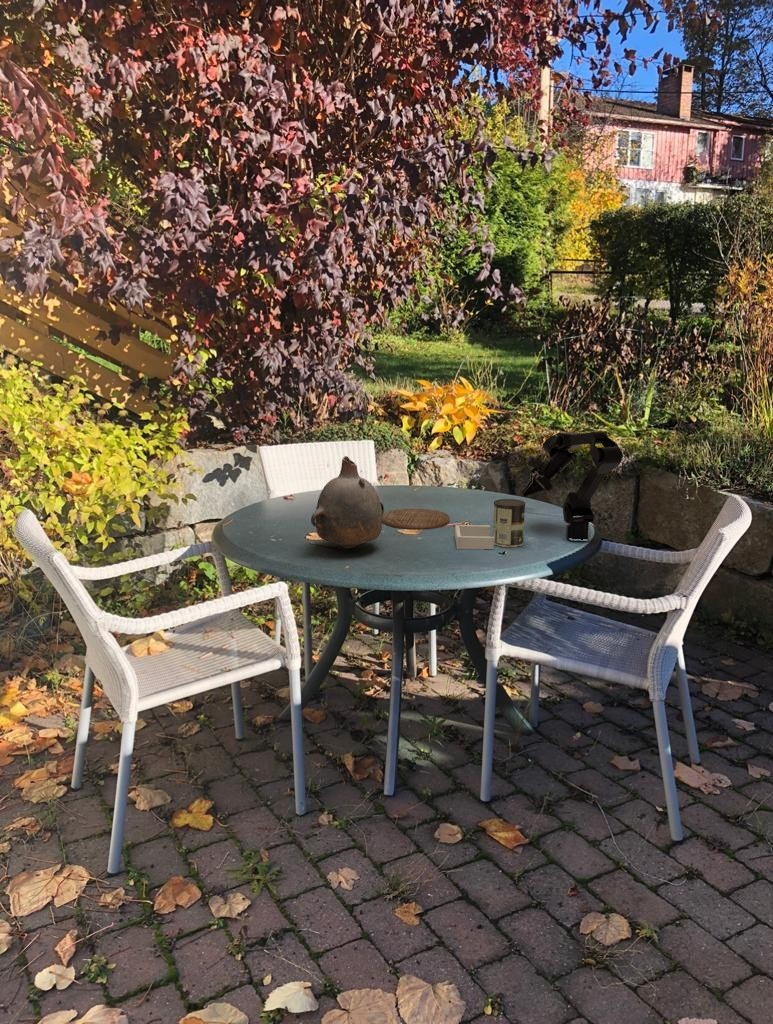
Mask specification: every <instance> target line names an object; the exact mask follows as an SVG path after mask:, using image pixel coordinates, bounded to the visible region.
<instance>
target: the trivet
mask: <svg viewBox="0 0 773 1024" xmlns="http://www.w3.org/2000/svg"><path fill="white" fill-rule="evenodd" d="M449 524H450V516H449V514H447V513H446V512H444V511H440V510H439V511H438V510H434V509H430V508H429V509H428V508H427V509H426V508H401V509H394V510H389V511H386V512H384V514H383V516H382V525H385V526H387V527H390V528H395V529H400V530H401V529H402V530H409V531H410V530H412V531H413V530H414V531H416V530H418V531H421V530H434V529H439V528H443V527H445V526H447V525H449Z"/></svg>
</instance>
